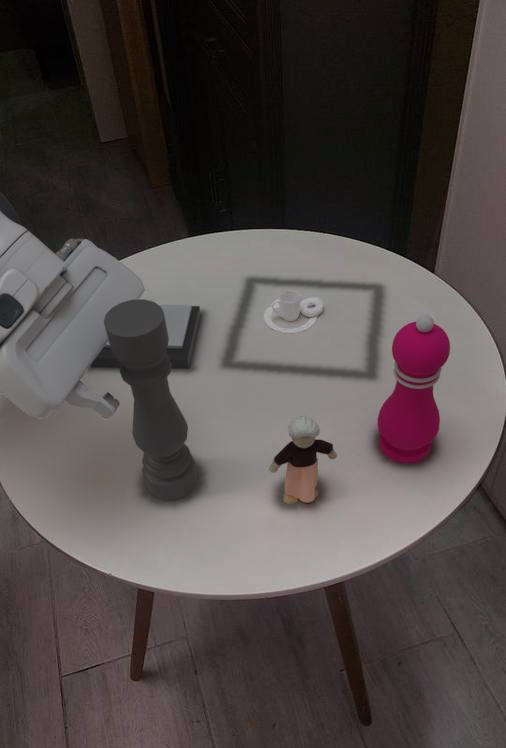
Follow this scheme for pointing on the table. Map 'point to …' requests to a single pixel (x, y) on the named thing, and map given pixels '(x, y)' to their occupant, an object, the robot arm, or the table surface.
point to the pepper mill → (413, 392)
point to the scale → (180, 333)
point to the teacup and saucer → (294, 310)
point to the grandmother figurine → (302, 460)
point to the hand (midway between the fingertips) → (134, 380)
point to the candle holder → (152, 397)
